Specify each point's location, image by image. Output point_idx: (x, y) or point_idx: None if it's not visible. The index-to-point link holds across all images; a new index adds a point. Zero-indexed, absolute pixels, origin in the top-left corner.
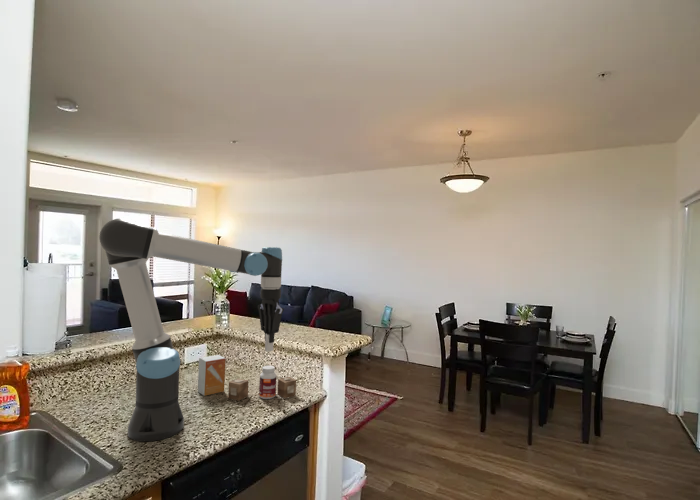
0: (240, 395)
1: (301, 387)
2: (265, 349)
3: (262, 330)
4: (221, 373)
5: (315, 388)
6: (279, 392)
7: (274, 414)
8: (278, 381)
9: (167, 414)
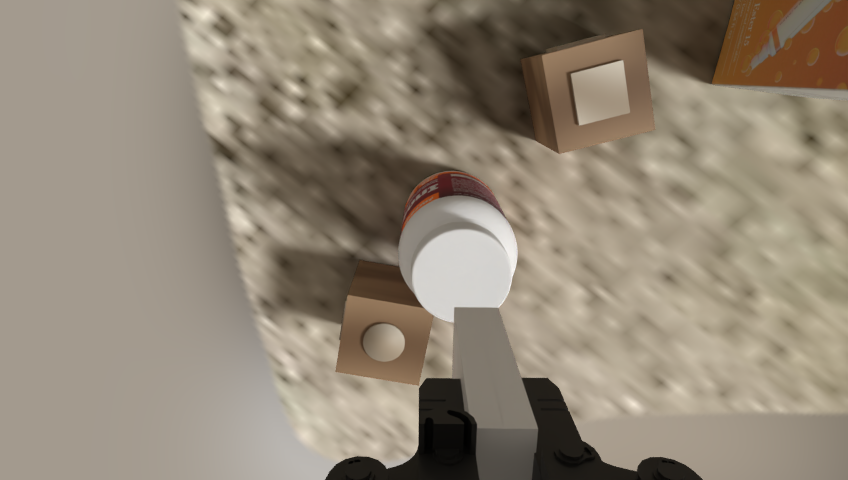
0: (528, 72)
1: None
2: (491, 315)
3: (644, 461)
4: (797, 55)
5: None
6: None
7: (217, 81)
8: None
9: None
